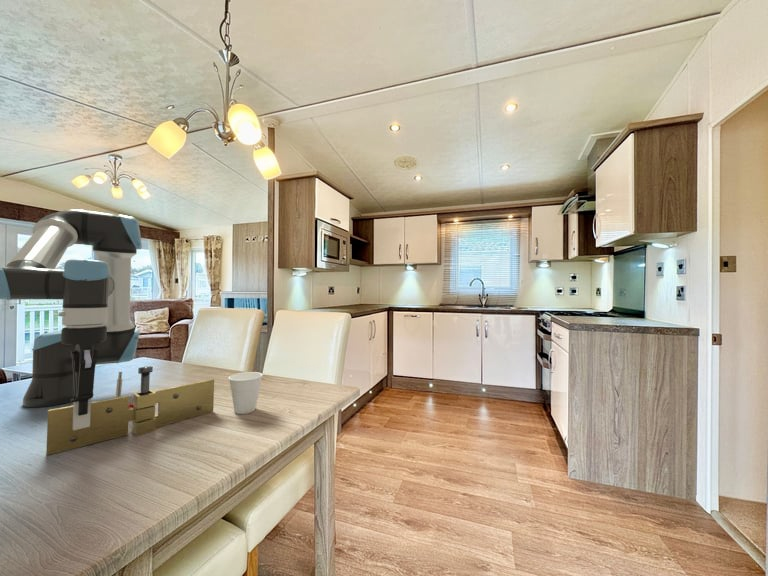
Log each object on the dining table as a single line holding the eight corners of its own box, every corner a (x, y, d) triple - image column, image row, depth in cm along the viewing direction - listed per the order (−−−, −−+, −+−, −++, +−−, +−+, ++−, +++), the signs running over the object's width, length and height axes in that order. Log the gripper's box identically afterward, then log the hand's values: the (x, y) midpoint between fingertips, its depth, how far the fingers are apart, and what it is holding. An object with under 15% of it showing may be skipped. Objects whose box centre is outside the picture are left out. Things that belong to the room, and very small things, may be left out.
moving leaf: (46, 450, 68) (48, 408, 69) (151, 425, 82) (152, 389, 82) (45, 457, 66) (47, 413, 66) (154, 430, 79) (155, 393, 80)
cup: (222, 410, 94) (223, 375, 94) (254, 402, 101) (254, 370, 101) (234, 420, 87) (235, 382, 87) (267, 410, 94) (268, 376, 94)
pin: (135, 408, 79) (137, 367, 79) (149, 405, 82) (150, 365, 82) (138, 411, 77) (140, 369, 78) (152, 408, 80) (154, 367, 80)
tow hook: (132, 405, 98) (101, 415, 89) (135, 365, 99) (105, 371, 90) (154, 407, 97) (125, 418, 87) (157, 367, 97) (129, 373, 88)
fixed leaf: (132, 431, 79) (133, 393, 79) (209, 409, 94) (210, 378, 94) (136, 435, 77) (137, 396, 77) (215, 413, 92) (216, 380, 92)
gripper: (58, 324, 71) (54, 425, 70) (65, 329, 63) (60, 442, 62) (101, 322, 77) (98, 415, 76) (112, 326, 69) (108, 430, 68)
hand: (81, 427), depth 69 cm, fingers closed
